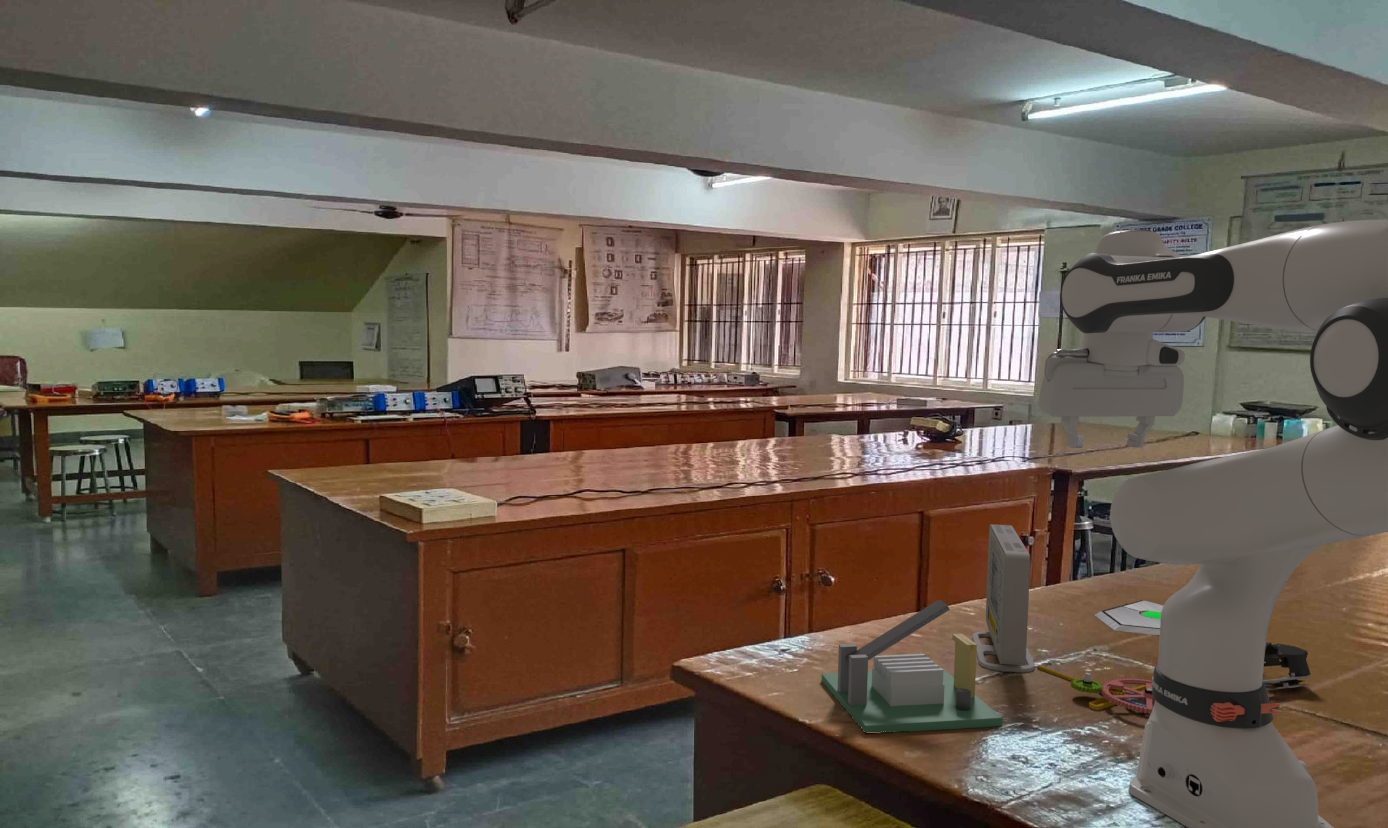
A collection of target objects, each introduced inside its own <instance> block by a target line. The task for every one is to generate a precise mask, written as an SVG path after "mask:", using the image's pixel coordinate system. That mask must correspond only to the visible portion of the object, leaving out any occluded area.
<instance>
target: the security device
mask: <svg viewBox="0 0 1388 828" xmlns="http://www.w3.org/2000/svg"><path fill="white" fill-rule="evenodd" d="M1163 606H1164V604H1159V603H1155V602H1151V601H1148V600H1142V599H1141V600H1137V601H1133V602H1130V603H1126V604H1123V605H1119V606H1115V607H1112V608H1108V609H1104V610H1101V611H1099V612H1097V613H1095V614H1094V617H1096V618H1097V619H1098V620H1099V621H1101V622H1103V623H1104V624H1105V625H1107V626H1108V627H1110V628H1111V629H1112V630H1113V631H1116V632H1127V633H1136V634H1146V635H1154V636H1155V635H1156V636H1160V622H1161V612H1162V609H1163Z"/></svg>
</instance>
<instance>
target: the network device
mask: <svg viewBox="0 0 1388 828" xmlns="http://www.w3.org/2000/svg"><path fill="white" fill-rule="evenodd" d="M988 529H989V530H988V531H989V532H988V554H987V555H988V556H987V557H988V559H987V578H986V597H985V598H986V602H985V605H986V606H985V621H986V622H985V623H986V625H987V629H988V631H976V632H974V633H973V634H972V641H973V642H974V643H976V644H977V654H976V658H977V661H978V664H979V665H980V666H981V667H983V668H984V669H987V670H992V671H997V672H998V671H1001V672H1010V673H1011V672H1012V673H1013V672H1014V673H1029V672H1033V671H1034V670H1035V667H1036V666H1035V662H1034V660H1033V657H1032V655H1031V652H1030V651H1029V648H1028V646H1027V644H1028V641H1027V639H1028V620H1029V619H1028V618H1029V598H1030V597H1029V596H1030V595H1029V594H1030V575H1031V555H1030V553H1029V551H1028V549H1027V548H1026V546H1025V545H1024V543H1023V542H1022V540H1021V538H1020V536H1019V535H1018V533H1017V532H1016V530H1015V528H1014V526H1013V525H1008V524H989V528H988ZM982 637H983V638H991V640H992V644H993V645H991V644H990V645H989V644H988V645H987V644H984V643H981V641H980V638H982ZM985 655H993V656H994V655H996V656H997V658H998V661H999V663H998V664H997V663H996V664H995V663H989V662H987V661H986V658H985Z"/></svg>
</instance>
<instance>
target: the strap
mask: <svg viewBox="0 0 1388 828" xmlns="http://www.w3.org/2000/svg"><path fill="white" fill-rule="evenodd" d="M950 610H951V609H950V607H949V606H948V604H947V603H945V602H944V601H943V600H941V599H937V600H936V601H934V602H931V603H930V604H929V605H927V606H926V607H924V608H923V609H921V610H919V611H918V612H916V613H915V614H912V616H910V617H908V618H906V619H905V620H903V621H902V622H899V624H897V625H896V626H894V627H892V628H890V629H889V630H887V631H886V632H884V633H883V634H881V635H879V636H877V637H876V638H875V639H873V640H871V641H870V642H868V643H867V644H865V645H863V646H861V647H859V648H857V651H855V652H853V653H852V654H849V655H866V656H867V657H868V661H870V660H871V659H874V657H875V656H879V654H881V653H883V652H884V651H886V650H888V649H890V648H891V647H893V646H894V645H896V644H897V643H899V642H900V641H901V640H903V639H905V638H907V637H908V636H910V635H912V634H913V633H915V632H917V631H918V630H920V629H922V628H923V627H924V626H926V625H927V624H929V623H931V622H933V621H934V620H935V619H937V618H939V617H941V616H942V615H944V614H945V613H946V612H949V611H950ZM849 655H847V656H846V660H847V661H848V662H849Z"/></svg>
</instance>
